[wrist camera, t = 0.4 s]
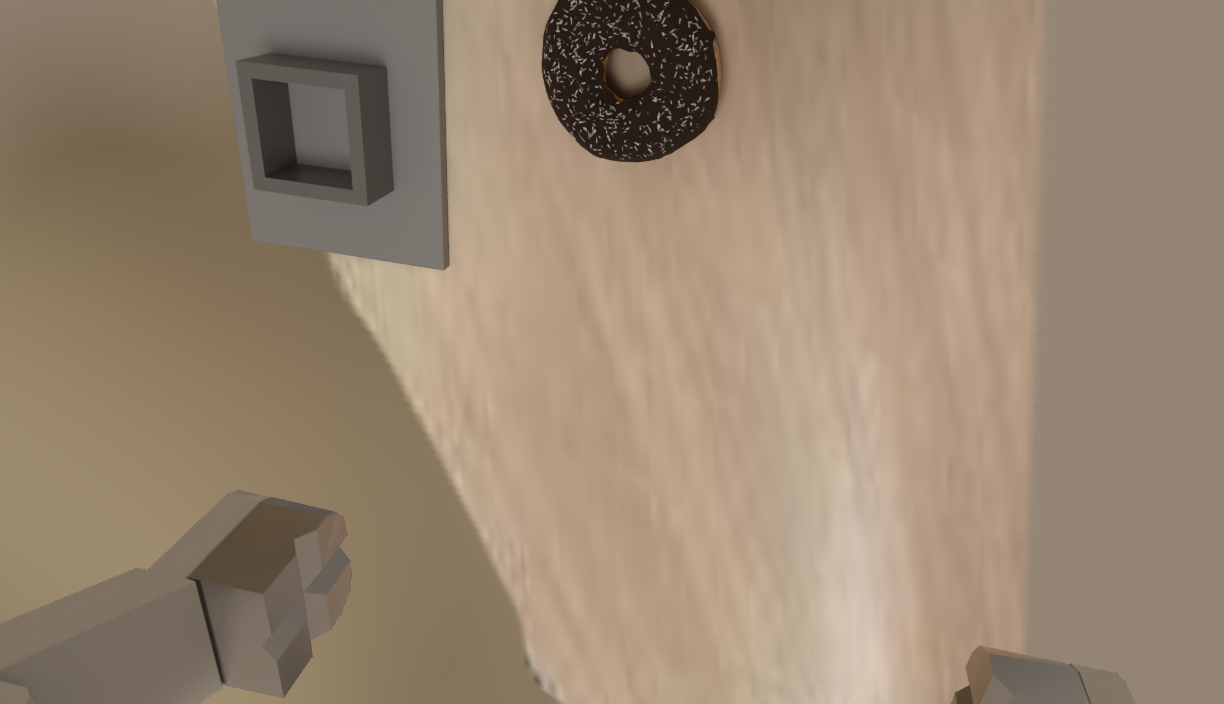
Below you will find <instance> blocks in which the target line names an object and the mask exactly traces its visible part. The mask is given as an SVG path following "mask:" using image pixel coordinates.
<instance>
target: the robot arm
mask: <svg viewBox="0 0 1224 704" xmlns="http://www.w3.org/2000/svg"><path fill="white" fill-rule="evenodd" d="M346 537H347V530H346V525H345V518H344V516H342V515H340V514H339V513H337V512H333V511H329V510H325V509H321V508H316V507H312V506H308V505H303V504H299V503H295V502H290V501H287V500H282V499H278V498H273V497H266V496H262V495H258V494H254V493H250V492H245V491H241V490H237V491H234V492H232V493H229V494H227V495H226V496H224V497H223V498H222V499H221V500H220V501H219V502H218V503H217V504H216V505H215V506H214V507H213V508H212V509H211V510H210V511H209V512H208V513H207V514H206V515H204V516H203V517H202V519H200V520H199V521H198V522H197V523H196V524H195V525H194V526H193V527H192V528H191V529H190V530H189V531H188V532H187V533H186V534H185V535H184V536H183V537H181V538H180V539H179V541H177V542H176V544H174V545H173V546H172V547H171V548H170V549H169V550H168V551H167V552H166V553H165V554H164V555H163V556H162V557H161V558H160V559H158V561H156V562H155V563H154V564H153V565H152V566H151V567H150V568H149V569H148V570H146V569H141V568H135V569H133V570H131V571H128V572H125V573H123V574H121V575H118V576H116V577H113V578H111V579H108V580H106V581H103V582H101V583H98V584H96V585H94V586H91V587H88V588H86V589H84V590H81V591H79V592H76V593H74V594H71V595H69V596H66V597H64V598H61V599H59V600H57V601H54V602H52V603H49V604H47V605H44V606H42V607H39V608H37V609H34V610H32V611H29V612H27V613H24V614H22V615H19V616H17V617H14V618H12V619H10V620H7V621H5V622H2V623H0V704H200V703H201V702H203V701H204V700H206V699H207V698H209V697H210V696H212V695H214V694H215V693H217V692H218V691H220V690H221V689H222V685H226V686H231V687H235V688H240V689H244V690H249V691H254V692H258V693H263V694H267V695H272V696H277V697H281V698H284V697H285V695H286V694H287V693H288V691H289V690H290V689H291V687H292V686H293V684H294V683H295V681H296V680H297V678H298V677H299V675H300V674H301V673H302V671H303V669H304V668H305V667H306V665H307V664H308V662H309V661H310V659H311V658H312V657H313V656H312V655H313V654H312V645H311V640H312V639H315V638H316V637H318V636H320V635H322V634H324V633H326V632H327V631H329V630H331V629H332V627H333V626H334V624H335V623H336V621H337V620H338V618H339V617H340V615H341V614H342V612H343V609H344V606H345V604H346V601H347V598H348V595H349V593H350V588H351V580H352V569H351V561H350V559H349V558H348V557H347V556H346V554H345V553H344V552H343V551H342V549H341V548H340V547H339V546H340V545H341V544H342V542H343V541H344V540H345V538H346ZM966 671H967V676H968V680H969V686H967V687H965V688H963V689H961V690H959V691H957V692H955V694H954V697H953V700H952V703H951V704H1135V701H1134V699H1133V697H1132V694H1131V692H1130V690H1129V688H1128V686H1127V683H1126V681H1125V680H1124V679H1123V678H1122V677H1121V676H1120V675H1119V674H1118V673H1115V672H1109V671H1105V670H1100V669H1095V668H1090V667H1084V666H1080V665H1075V664H1066V663H1064V662H1059V661H1053V660H1048V659H1044V658H1039V657H1034V656H1029V655H1024V654H1019V653H1014V652H1009V651H1004V650H999V649H994V648H989V647H984V646H978V647H977V648H976V649H975V650H974V651H973V652H972V654H971V656H970V659H969V661H968V663H967V665H966Z"/></svg>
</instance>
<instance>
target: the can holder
mask: <svg viewBox="0 0 1224 704" xmlns="http://www.w3.org/2000/svg"><path fill="white" fill-rule="evenodd" d="M216 1H217V7H218V14H219V21H220V27H221V33H222V40H223V46H224V54H225V60H226V67H227V73H228V80H229V87H230V93H231V100H232V107H233V113H234V120H235V127H236V133H237V140H238V147H239V153H240V160H241V167H242V173H243V179H244V185H245V193H246V200H247V206H248V213H249V220H250V226H251V232H252V239H253V240H256V241H263V242H269V243H275V244H281V245H288V246H294V247H300V248H306V249H313V250H319V251H325V252H331V253H338V254H344V255H350V256H356V257H363V258H369V259H375V260H381V261H388V262H394V263H400V264H407V265H413V266H419V267H425V268H432V269H438V270H445V269H446V268H447V267H448V266H449V246H448V206H447V167H446V127H445V87H444V47H443V7H442V0H216Z"/></svg>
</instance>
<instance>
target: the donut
mask: <svg viewBox="0 0 1224 704" xmlns="http://www.w3.org/2000/svg"><path fill="white" fill-rule="evenodd" d="M542 38H543V52H542V73H543V79H544V83H545V88H546V92H547V95H548V98H549V100H550V103H551V106H552V107H553V109H554V111H555V113H556V115H557V117H558V119H559V121H560V122H561V124H562V125H563V126H564V127H565V129H566V130H567V131H568V132H569V133H570V134H571V136H572V138H574V139H575V140H576V141H577V142H578V143H579V144H580V145H581V146H582V147H583V148H584V149H586V150H587V151H588V152H590V153H591V154H593V155H594V156H597V157H599V158H604V159H607V160H613V161H620V162H644V161H650V160H655V159H660V158H662V157H664V156H665V155H668V154H671V153H673V152H674V151H676V150H677V149H679V148H680V147H682V146H684V145H685V144H687V143H688V142H690V141H691V140H693V139H695V138H696V137H697V136H698V135H700V134H701V133H702V132H703V131H704V130H705V129H706V127H707V126H708V124H709V123H710V122H711V121H712V120H713V119H714V118H715V116H714V113H715V111H716V108H717V104H718V99H719V96H720V86H721V77H722V71H721V64H720V56H719V48H718V45H717V42H716V40H715V33H714V32H712V31H711V28H710V26H709V24H708V23H707V21H706V20H705V19H704V17H703V16H702V14H701V13H700V11H699V10H698V8H697V7H696V6H695V5H693V4H692V3H691V2H690V1H689V0H558V2H557V4H556V6H555V8H554V10H553V12H552V14H551V15H550V17H549V20H548V22H547V24H546V28H545V32H544V36H543V37H542ZM617 48H621V49H623V50H626V51H629V52H634V51H636V52H638V53H639V54H641V56H642V57H643V58H644V60H645V61H646V63H647V65H648V66H649V70H650V75H651V80H652V81H651V84H650V85H649V86H648V87H647V89H646V90H645V91H644V92H642V93H641V94H640V95H639V96H635V97H631V98H628V99H626V100H625V99H622V98H619V97H618V96H617V95H616V94H615V93H614V92H613V91H612V90H611V88H610V87H609V86H608V85H607V82H606V78H605V71H606V65H607V61H608V57H609V54H610V53H611V52H612V51H613V50H615V49H617Z"/></svg>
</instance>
